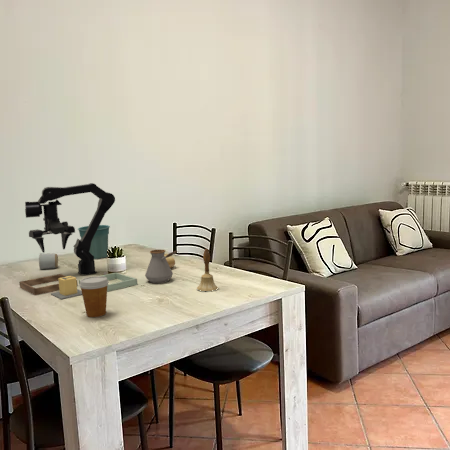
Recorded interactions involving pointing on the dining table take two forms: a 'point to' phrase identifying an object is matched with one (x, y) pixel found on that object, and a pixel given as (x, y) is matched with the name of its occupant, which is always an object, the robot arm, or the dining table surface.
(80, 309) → the dining table surface
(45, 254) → the grey cylinder
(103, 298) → the disposable coffee cup
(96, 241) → the flower pot
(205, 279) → the hand bell
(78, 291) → the rubber mat
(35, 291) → the walnut tray
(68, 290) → the letter block
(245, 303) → the dining table surface
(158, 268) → the coffee pot
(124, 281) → the sage tray
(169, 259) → the onion
